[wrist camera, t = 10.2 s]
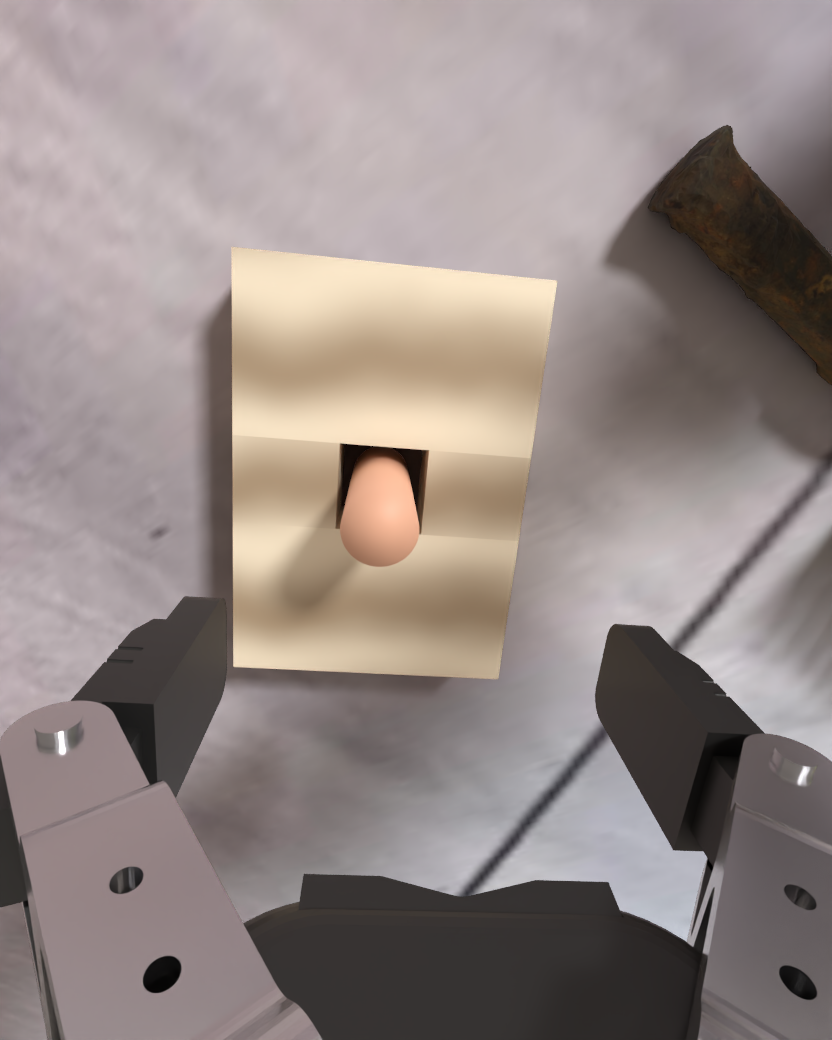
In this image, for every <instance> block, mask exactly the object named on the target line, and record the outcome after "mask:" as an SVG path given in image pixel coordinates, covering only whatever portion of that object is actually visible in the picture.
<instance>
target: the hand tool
mask: <svg viewBox="0 0 832 1040" xmlns="http://www.w3.org/2000/svg"><path fill="white" fill-rule="evenodd" d="M732 133H733V131H732V128H731V126H728V125H726V126H723V127H721V128H719V129H717V130H716V131H714V132H713V133H711V134H710V135H709V136H707V137H706V138H704V139H702V140H700V141H699V142H698V143H697V144H696V145H695V146H694V147H693V148H692V149H691V150H690V151H689V152H688V153H687V154H686V156H685V157H684V158H683V159H682V160H681V161H680V162H679V163H678V164H677V165H676V167H675V168H674V169H673V170H672V171H671V172H670V173H669V175H668V176H667V177H666V178H665V180H664V181H663V182H662V183H661V185H660V186H659V188H658V189H657V191H656V193H655V194H654V196H653V198H652V200H651V201H650V204H649V206H648V208H649V209H650V211H653V212H665V213H666V214H667V215H668V216H669V221H670V225H671V228H673V229H675V230H677V231H678V232H679V233H686V234H687V235H688V236H689V237H690V238H691V239H692V240H693V241H695V242H696V243H697V244H698V245H699V246H700V247H701V248H702V249H703V250H704V251H705V253H706V254H707V256H708V257H709V259H710V260H711V261H712V262H713V263H715V264H716V265H717V266H718V268H719V269H720V270H722V271H723V272H725V273H726V274H728V275H730V276H731V277H732V279H733V280H734V281H735V282H737V283H738V284H739V285H740V287H741V288H742V289H743V290H744V291H745V295H746V297H747V298H750V299H752V300H753V301H754V302H755V303H756V304H757V305H759V306H760V307H761V308H762V309H763V310H764V311H765V312H766V313H767V314H768V315H769V317H771V318H772V319H773V320H774V321H775V322H776V323H777V324H778V325H779V326H780V327H781V328H782V329H783V330H784V331H785V332H786V333H787V334H788V335H789V336H790V337H791V338H792V339H793V340H794V341H795V342H796V343H797V344H798V345H799V346H800V347H801V348H802V349H803V350H804V351H805V352H806V353H807V354H808V355H809V356H810V357H811V358H812V359H813V360H814V361H815V362H816V363H817V365H816V366H817V373H818V374H819V375H820V376H821V377H822V378H823V379H824V380H826V381H827V382H828V383H829V384H831V385H832V256H831V255H830V254H829V253H828V251H827V250H826V249H825V248H824V247H823V246H822V245H821V244H820V243H819V242H818V241H817V239H816V238H815V237H814V236H813V235H812V234H811V232H810V231H809V230H807V229H806V228H805V227H804V226H803V225H802V223H801V222H800V221H799V220H798V219H797V218H796V216H795V215H794V214H793V213H792V212H791V211H790V210H789V209H788V208H787V207H786V206H785V204H784V203H783V202H782V201H781V200H780V199H779V198H778V197H777V196H776V195H775V194H774V193H773V192H772V191H771V190H770V189H769V188H768V187H767V186H766V185H765V184H764V183H763V182H762V181H761V179H760V178H759V177H758V175H757V174H756V173H755V172H754V171H752V170H751V167H749V166H748V164H747V163H746V162H745V161H744V160H743V159H742V158H741V157H740V155H739V153H738V152H737V150H736V148H735V146H734V144H733V135H732Z"/></svg>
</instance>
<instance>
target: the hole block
mask: <svg viewBox="0 0 832 1040" xmlns="http://www.w3.org/2000/svg"><path fill="white" fill-rule="evenodd" d="M556 286H557V281H554V280H544V279H534V278H525V277H515V276H506V275H496V274H486V273H477V272H467V271H458V270H448V269H439V268H429V267H419V266H410V265H400V264H391V263H381V262H372V261H362V260H352V259H343V258H333V257H324V256H314V255H304V254H295V253H285V252H276V251H266V250H257V249H247V248H237V247H232V473H233V667H246V668H267V669H289V670H310V671H332V672H353V673H374V674H396V675H417V676H438V677H460V678H481V679H498V676H499V670H500V663H501V656H502V650H503V643H504V636H505V629H506V623H507V616H508V609H509V603H510V596H511V589H512V582H513V576H514V569H515V562H516V555H517V549H518V542H519V535H520V529H521V522H522V515H523V508H524V502H525V495H526V488H527V481H528V475H529V468H530V461H531V455H532V448H533V441H534V434H535V428H536V421H537V414H538V408H539V401H540V394H541V387H542V381H543V374H544V367H545V360H546V354H547V347H548V340H549V334H550V327H551V320H552V313H553V307H554V300H555V293H556ZM344 444H355V445H367V446H380V447H393V448H406V449H418V450H422V458H421V469H420V480H419V490H418V501H417V516H418V521H419V537H418V541H417V543H416V545H415V547H414V549H413V550H412V552H411V553H410V554H409V555H408V556H407V557H406V558H405V559H403V560H402V561H400V562H398V563H396V564H393V565H390V566H385V567H375V566H369V565H366V564H363V563H361V562H359V561H358V560H356V559H355V558H354V557H353V556H351V555H350V553H349V552H348V551H347V550H346V548H345V546H344V544H343V542H342V539H341V534H340V524H341V519H342V515H343V511H344V507H341V499H342V480H343V461H344Z"/></svg>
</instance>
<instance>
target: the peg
mask: <svg viewBox="0 0 832 1040" xmlns="http://www.w3.org/2000/svg"><path fill="white" fill-rule="evenodd" d="M340 534H341V539H342V542H343V544H344V546H345V548H346V550H347V551H348V552H349V553H350V555H351V556H353V557H354V558H355V559H356V560H358V561H359V562H361V563H363V564H366V565H369V566H375V567H385V566H390V565H393V564H396V563H398V562H400V561H402V560H403V559H405V558H406V557H407V556H408V555H409V554H410V553H411V552H412V550H413V549H414V547H415V545H416V543H417V541H418V537H419V521H418V516H417V511H416V506H415V501H414V496H413V492H412V487H411V482H410V477H409V472H408V467H407V464H406V461H405V460H404V458H403V457H402V455H401V454H400V453H398V452H397V451H396V450H394V449H392V448H389V447H380V446H376V447H372V448H369V449H367V450H365V451H364V452H363V453H362V454H361V455H360V456H359V457H358V458H357V460H356V462H355V465H354V469H353V473H352V477H351V481H350V486H349V490H348V494H347V498H346V502H345V507H344V511H343V515H342V519H341V524H340Z"/></svg>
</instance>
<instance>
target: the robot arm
mask: <svg viewBox="0 0 832 1040" xmlns="http://www.w3.org/2000/svg"><path fill="white" fill-rule="evenodd" d="M226 671H227V620H226V603H225V600H224V599H220V598H204V597H188V596H185V597H184V598H183V599H182V600H181V601H180V603H179V604H178V605H177V606H176V608H175V609H174V610H173V611H172V613H171V614H170V615H169V617H168V618H167V619H166V620H165V619H153V620H151V621H149V622H147V623H145V624H144V625H142V626H140V627H138V628H136V629H135V630H133V631H131V632H130V634H129V635H128V636H127V637H126V638H125V639H124V640H123V642H122V643H121V644H120V645H119V646H118V649H116V650H115V651H114V652H113V653H112V654H111V655H110V656H109V658H108V659H107V662H104V663H103V664H102V666H101V667H100V668H99V669H98V670H97V671H96V672H95V674H94V675H93V676H92V677H91V678H90V679H89V680H88V682H87V683H86V684H85V685H84V686H83V687H82V688H81V690H80V691H79V692H78V693H77V694H76V695H75V696H74V698H73V699H72V700H71V701H68V702H61V703H57V704H52V705H49V706H46V707H43V708H40V709H38V710H35V711H33V712H31V713H29V714H27V715H25V716H23V717H22V718H20V719H19V720H17V721H16V722H14V723H13V724H12V725H11V726H10V727H9V728H8V729H7V730H6V731H5V732H4V734H3V735H2V737H1V739H0V907H4V906H8V905H12V904H16V903H20V902H22V908H23V913H24V918H25V923H26V928H27V933H28V939H29V944H30V949H31V954H32V959H33V964H34V969H35V974H36V980H37V985H38V990H39V995H40V1000H41V1005H42V1010H43V1016H44V1021H45V1026H46V1032H47V1038H48V1040H832V762H831V761H830V760H829V759H828V758H826V757H825V756H823V755H822V754H821V753H819V752H817V751H816V750H814V749H812V748H810V747H808V746H806V745H804V744H802V743H800V742H797V741H795V740H792V739H789V738H786V737H782V736H778V735H773V734H765V733H764V732H763V731H762V730H761V729H760V728H759V727H758V726H757V725H756V724H755V723H754V722H753V721H752V720H751V719H750V718H749V717H748V716H747V715H746V713H745V712H744V711H743V710H742V709H741V708H740V707H739V706H738V705H737V704H736V703H735V702H734V701H733V700H732V699H731V698H730V697H726V693H725V692H724V691H723V690H722V689H721V688H720V687H719V686H718V684H715V683H714V682H713V681H714V680H713V679H712V678H711V677H710V676H709V675H708V674H707V673H706V672H705V671H704V670H703V669H702V668H701V667H700V666H699V665H698V664H696V663H695V662H693V661H692V660H690V659H688V658H687V657H685V656H684V655H682V654H680V653H679V652H677V651H674V650H673V649H672V648H671V647H670V646H669V645H668V643H667V642H666V641H665V640H664V639H663V638H662V637H661V636H660V635H659V634H658V633H657V632H656V631H655V630H654V629H653V628H652V627H650V626H638V625H622V624H614V625H613V626H612V627H611V628H610V630H609V632H608V635H607V640H606V644H605V649H604V653H603V658H602V663H601V667H600V672H599V677H598V681H597V686H596V693H595V702H596V709H597V714H598V717H599V719H600V721H601V723H602V725H603V726H604V728H605V730H606V732H607V733H608V735H609V737H610V739H611V740H612V742H613V744H614V746H615V748H616V749H617V751H618V753H619V755H620V756H621V758H622V760H623V762H624V763H625V765H626V767H627V769H628V771H629V772H630V774H631V776H632V778H633V779H634V781H635V783H636V785H637V786H638V788H639V790H640V792H641V794H642V795H643V797H644V799H645V801H646V802H647V804H648V806H649V808H650V809H651V811H652V813H653V815H654V817H655V818H656V820H657V822H658V824H659V825H660V827H661V829H662V831H663V832H664V834H665V836H666V838H667V840H668V841H669V843H670V845H671V847H672V848H673V850H681V851H704V853H705V854H706V856H707V860H706V863H705V866H704V870H703V873H702V876H701V881H700V885H699V890H698V894H697V898H696V903H695V907H694V912H693V916H692V920H691V925H690V929H689V934H688V938H687V942H686V941H684V940H683V939H681V938H679V937H678V936H676V935H674V934H673V933H671V932H669V931H668V930H666V929H664V928H662V927H660V926H658V925H656V924H654V923H652V922H650V921H648V920H645V919H643V918H640V917H637V916H635V915H632V914H629V913H626V912H623V911H620V910H619V907H618V905H617V902H616V900H615V898H614V895H613V893H612V890H611V888H610V885H609V883H608V882H581V881H544V880H535V881H531V882H526V883H522V884H518V885H514V886H510V887H505V888H501V889H497V890H493V891H488V892H484V893H480V894H476V895H472V896H466V897H459V896H453V895H450V894H446V893H442V892H438V891H435V890H431V889H427V888H423V887H420V886H416V885H412V884H408V883H405V882H401V881H397V880H393V879H390V878H386V877H382V876H356V875H319V874H304V876H303V883H302V889H301V896H300V902H297V903H293V904H289V905H285V906H282V907H279V908H276V909H273V910H271V911H268V912H265V913H263V914H261V915H259V916H257V917H255V918H253V919H251V920H249V921H247V922H245V923H243V922H242V921H241V919H240V917H239V915H238V913H237V911H236V909H235V908H234V906H233V904H232V902H231V900H230V898H229V896H228V895H227V893H226V891H225V889H224V887H223V885H222V884H221V882H220V880H219V878H218V876H217V874H216V872H215V871H214V869H213V867H212V865H211V863H210V861H209V859H208V858H207V856H206V854H205V852H204V850H203V848H202V846H201V845H200V843H199V841H198V839H197V837H196V835H195V834H194V832H193V830H192V828H191V826H190V824H189V822H188V821H187V819H186V817H185V815H184V813H183V811H182V809H181V808H180V806H179V804H178V802H177V800H176V796H177V794H178V792H179V789H180V787H181V785H182V783H183V781H184V779H185V776H186V774H187V772H188V770H189V768H190V765H191V763H192V761H193V759H194V757H195V755H196V752H197V750H198V748H199V746H200V744H201V742H202V739H203V737H204V735H205V733H206V731H207V728H208V726H209V724H210V722H211V720H212V718H213V715H214V713H215V711H216V709H217V707H218V705H219V702H220V700H221V698H222V695H223V691H224V686H225V681H226Z"/></svg>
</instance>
